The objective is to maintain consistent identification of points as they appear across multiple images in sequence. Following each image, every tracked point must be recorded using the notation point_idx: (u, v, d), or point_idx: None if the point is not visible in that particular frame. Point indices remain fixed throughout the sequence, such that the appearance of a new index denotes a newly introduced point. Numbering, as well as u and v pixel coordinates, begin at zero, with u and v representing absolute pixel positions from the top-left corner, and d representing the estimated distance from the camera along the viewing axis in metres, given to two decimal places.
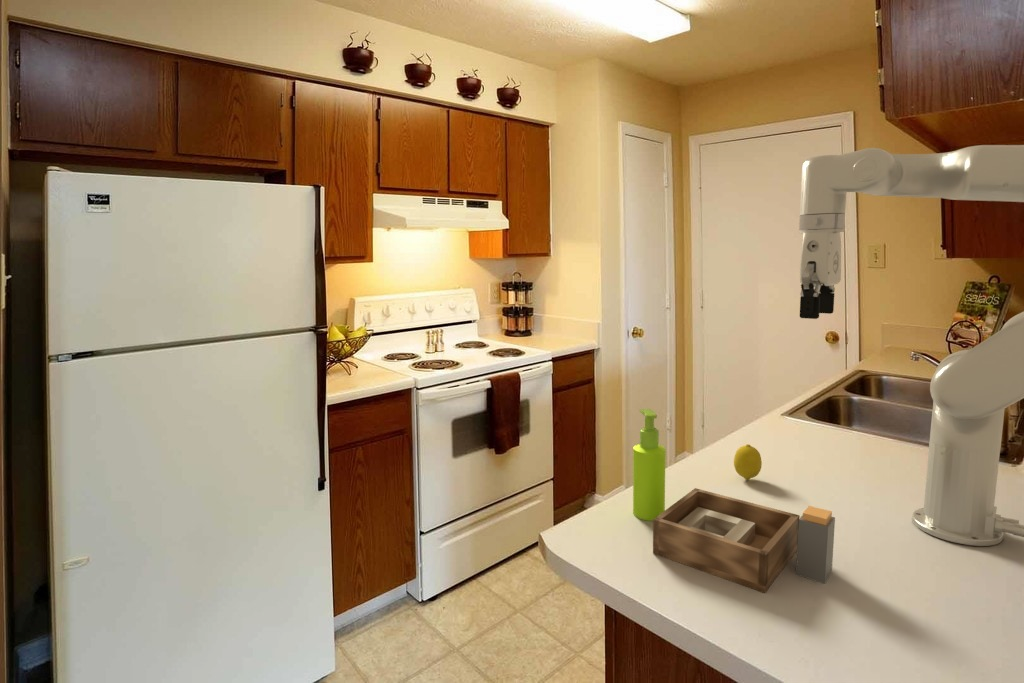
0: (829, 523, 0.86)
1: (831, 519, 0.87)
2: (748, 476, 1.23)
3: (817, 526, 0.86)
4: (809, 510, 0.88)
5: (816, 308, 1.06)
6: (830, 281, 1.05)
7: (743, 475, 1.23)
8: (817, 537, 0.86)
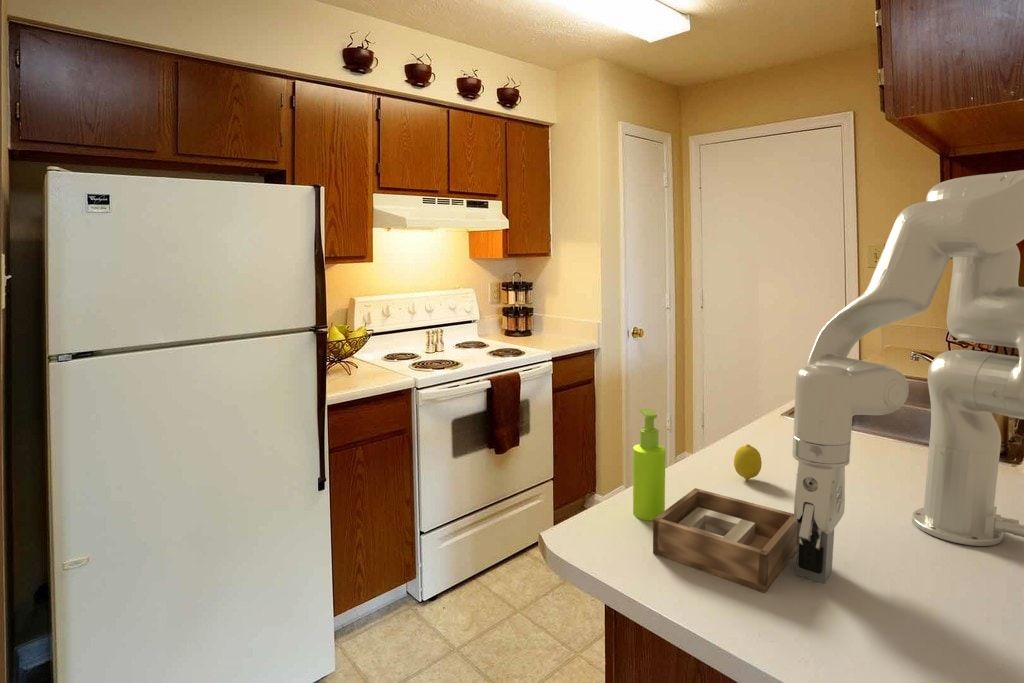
0: None
1: None
2: (748, 476, 1.23)
3: (817, 526, 0.86)
4: None
5: (819, 561, 0.85)
6: (832, 527, 0.83)
7: (743, 475, 1.23)
8: None
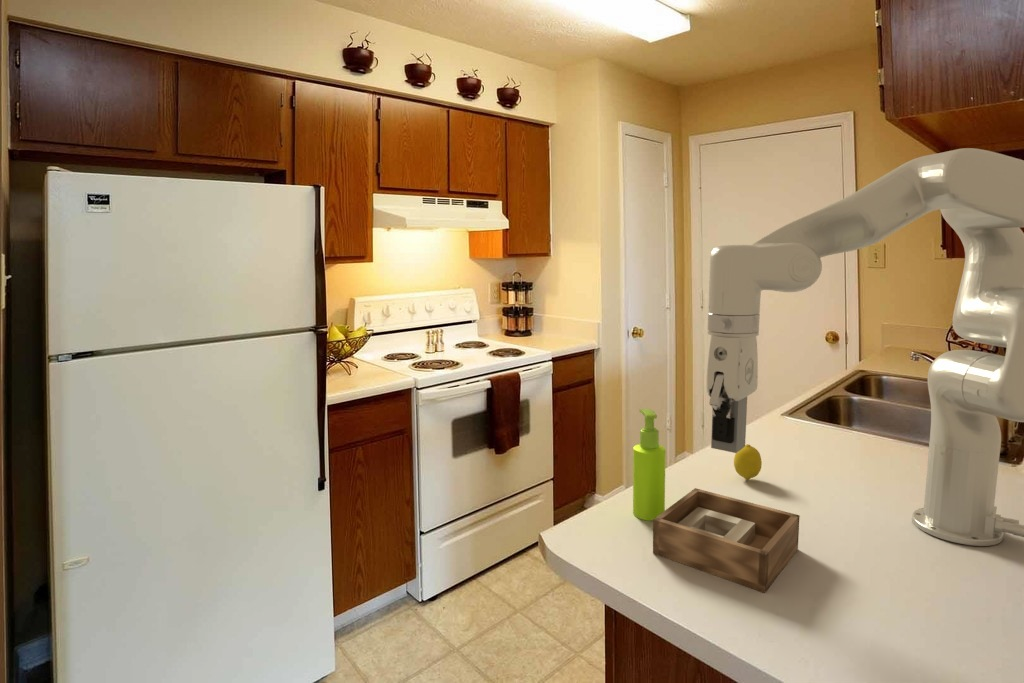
0: None
1: None
2: (748, 476, 1.23)
3: None
4: None
5: (730, 431, 0.90)
6: (741, 395, 0.88)
7: (743, 475, 1.23)
8: None
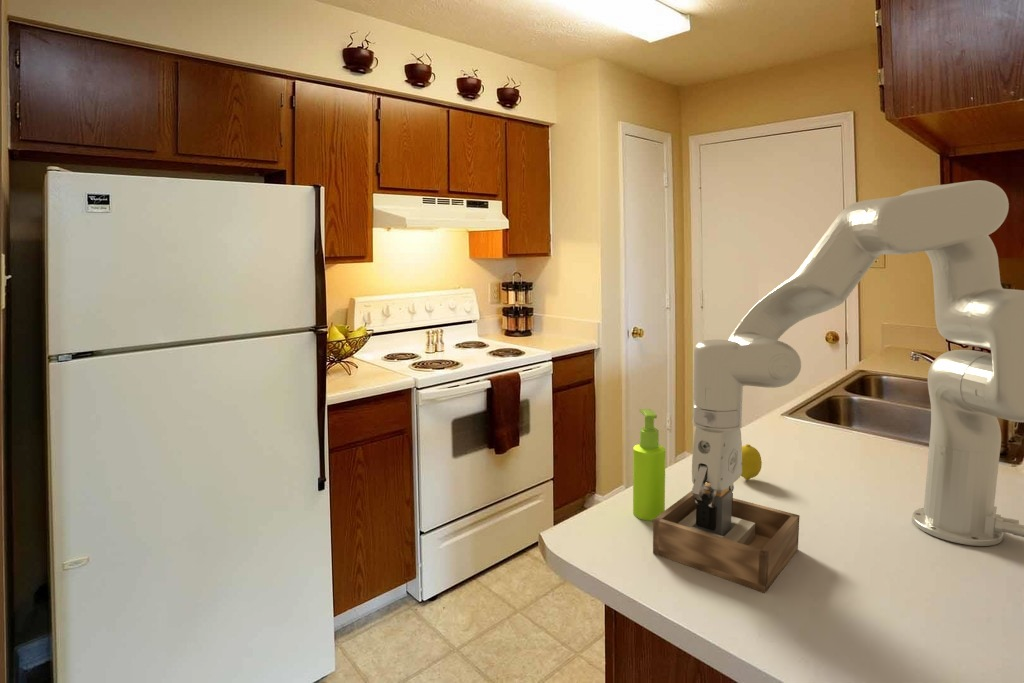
0: (724, 495, 0.94)
1: (728, 492, 0.95)
2: (748, 476, 1.23)
3: None
4: (708, 484, 0.96)
5: (712, 519, 0.93)
6: (724, 486, 0.91)
7: (743, 475, 1.23)
8: None
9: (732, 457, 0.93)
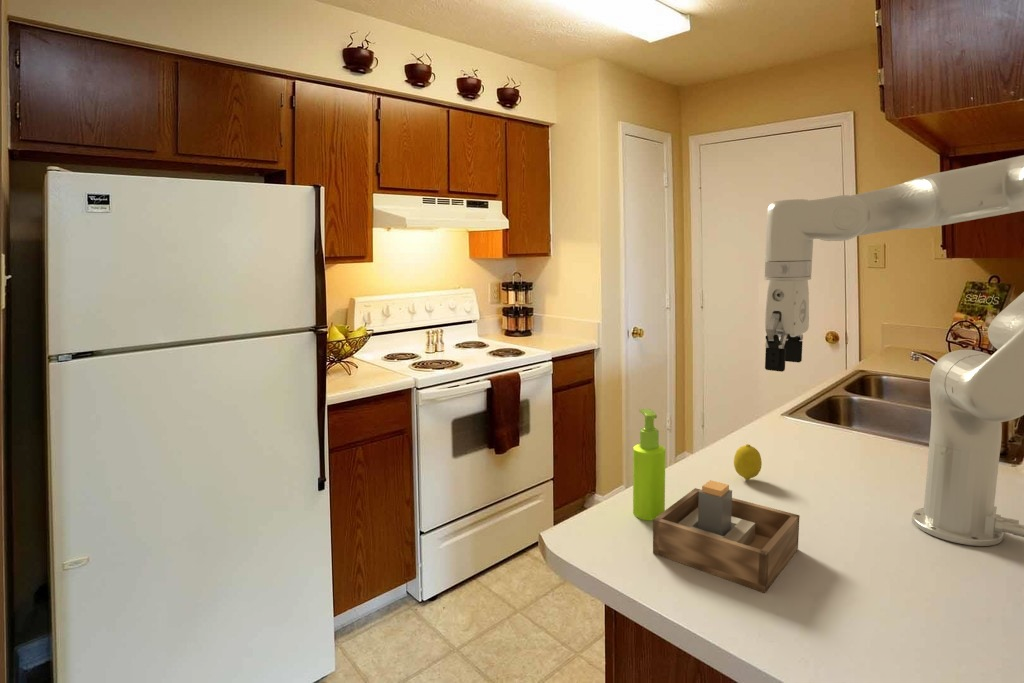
0: (724, 495, 0.94)
1: (728, 492, 0.95)
2: (748, 476, 1.23)
3: (713, 498, 0.94)
4: (708, 484, 0.96)
5: (782, 360, 1.00)
6: (796, 332, 1.00)
7: (743, 475, 1.23)
8: (713, 508, 0.94)
9: (802, 307, 1.01)
